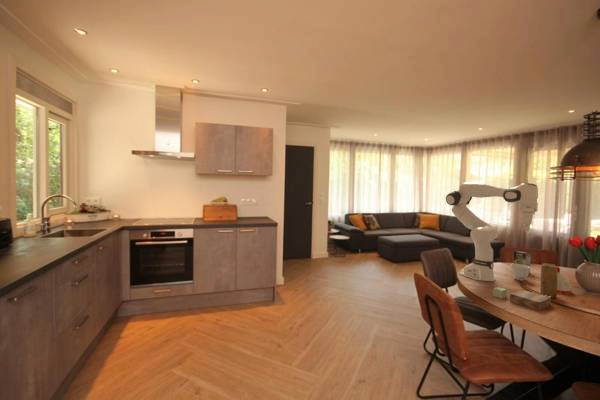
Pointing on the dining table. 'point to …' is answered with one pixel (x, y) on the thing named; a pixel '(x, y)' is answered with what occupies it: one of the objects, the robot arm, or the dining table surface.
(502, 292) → the sage cube
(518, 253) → the coffee box
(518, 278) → the teacup
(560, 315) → the dining table surface
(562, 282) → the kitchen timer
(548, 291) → the block
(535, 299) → the walnut base block
